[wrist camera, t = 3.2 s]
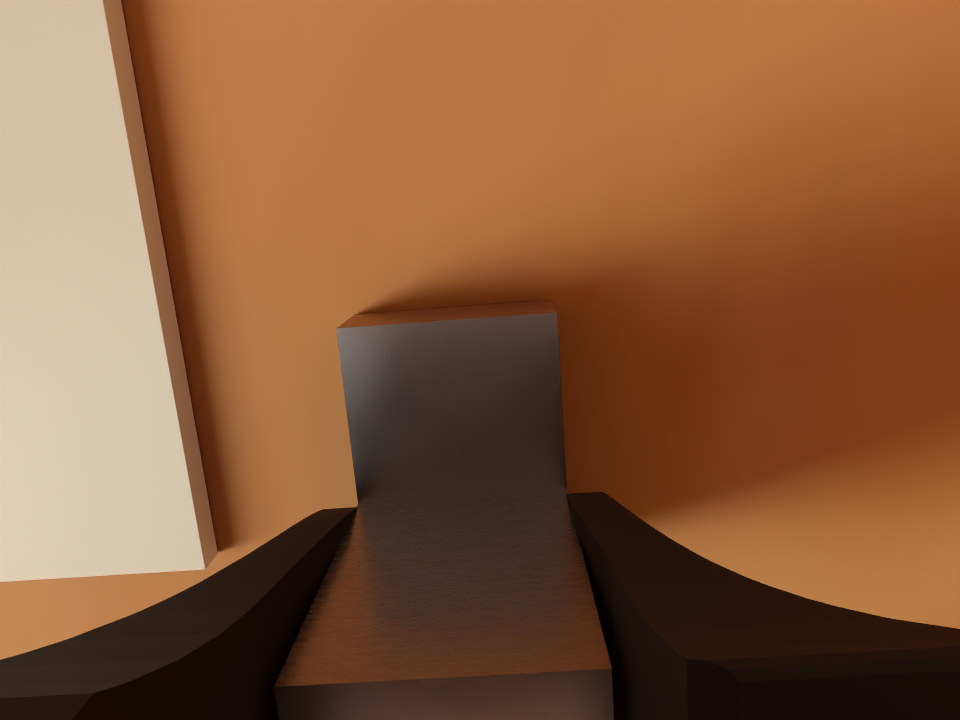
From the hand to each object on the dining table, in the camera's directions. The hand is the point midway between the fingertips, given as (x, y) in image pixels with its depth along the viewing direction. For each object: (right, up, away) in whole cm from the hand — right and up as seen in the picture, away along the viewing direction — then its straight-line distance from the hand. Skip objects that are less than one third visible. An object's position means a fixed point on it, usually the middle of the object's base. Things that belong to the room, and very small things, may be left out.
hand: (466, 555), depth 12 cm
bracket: (0, +2, +1) cm, 2 cm away
